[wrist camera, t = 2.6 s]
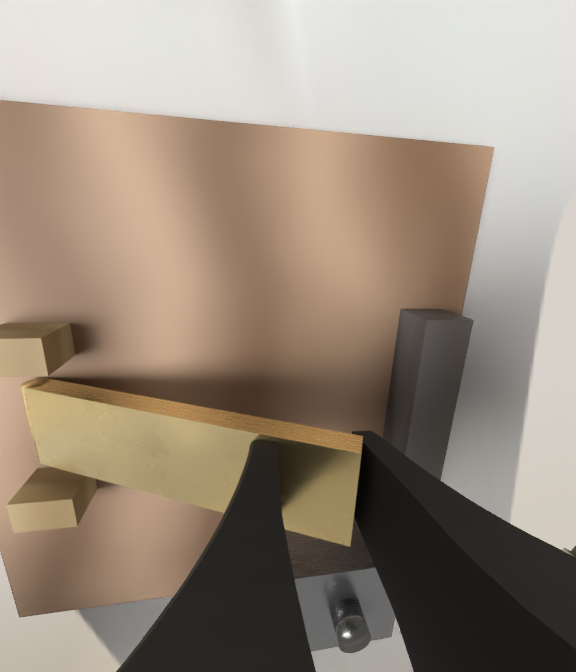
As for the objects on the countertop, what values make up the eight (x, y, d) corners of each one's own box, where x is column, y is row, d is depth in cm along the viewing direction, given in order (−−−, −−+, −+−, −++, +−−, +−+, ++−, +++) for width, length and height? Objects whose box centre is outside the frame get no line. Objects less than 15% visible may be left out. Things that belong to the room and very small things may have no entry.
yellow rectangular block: (52, 448, 12) (31, 461, 12) (38, 376, 12) (14, 385, 11) (352, 523, 10) (350, 547, 9) (363, 435, 9) (361, 454, 8)
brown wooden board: (38, 583, 16) (-11, 671, 13) (-82, 108, 10) (-230, 48, 7) (399, 537, 19) (433, 599, 16) (466, 156, 13) (541, 131, 10)
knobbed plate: (280, 593, 15) (292, 689, 12) (282, 524, 14) (298, 610, 11) (368, 580, 16) (403, 667, 12) (378, 514, 14) (419, 591, 11)
